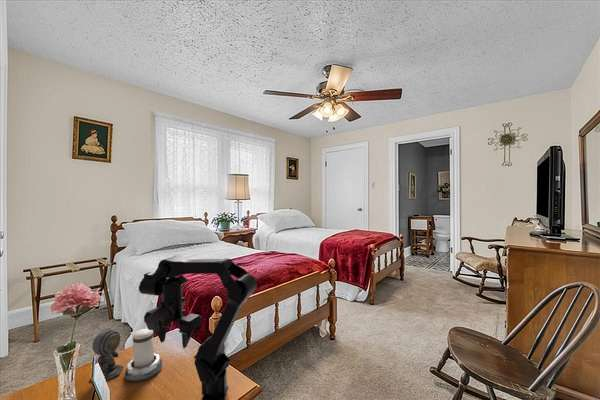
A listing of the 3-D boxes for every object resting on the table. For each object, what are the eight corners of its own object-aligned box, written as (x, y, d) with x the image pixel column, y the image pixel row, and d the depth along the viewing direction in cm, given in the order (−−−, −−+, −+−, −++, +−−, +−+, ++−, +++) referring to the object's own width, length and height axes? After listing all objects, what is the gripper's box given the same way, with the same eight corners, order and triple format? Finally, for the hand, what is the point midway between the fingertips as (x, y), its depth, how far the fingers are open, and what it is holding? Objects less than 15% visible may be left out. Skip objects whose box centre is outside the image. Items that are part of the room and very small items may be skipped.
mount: (167, 360, 100) (166, 350, 99) (153, 381, 89) (153, 370, 88) (135, 361, 99) (135, 352, 99) (118, 383, 88) (117, 372, 88)
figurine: (107, 385, 87) (105, 339, 86) (82, 380, 89) (80, 336, 88) (129, 367, 95) (128, 326, 95) (105, 364, 97) (104, 323, 97)
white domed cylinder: (154, 359, 98) (153, 326, 97) (153, 369, 92) (152, 335, 92) (135, 364, 95) (134, 330, 95) (132, 374, 90) (131, 339, 89)
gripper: (127, 302, 82) (129, 353, 82) (175, 312, 75) (176, 366, 76) (158, 289, 92) (159, 334, 93) (202, 296, 86) (203, 345, 86)
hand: (173, 344), depth 87 cm, fingers open, 9 cm apart
